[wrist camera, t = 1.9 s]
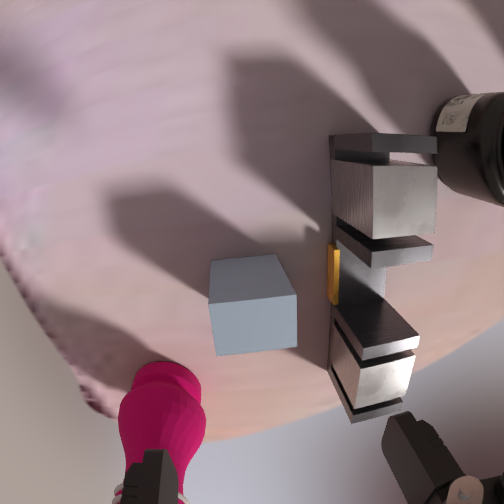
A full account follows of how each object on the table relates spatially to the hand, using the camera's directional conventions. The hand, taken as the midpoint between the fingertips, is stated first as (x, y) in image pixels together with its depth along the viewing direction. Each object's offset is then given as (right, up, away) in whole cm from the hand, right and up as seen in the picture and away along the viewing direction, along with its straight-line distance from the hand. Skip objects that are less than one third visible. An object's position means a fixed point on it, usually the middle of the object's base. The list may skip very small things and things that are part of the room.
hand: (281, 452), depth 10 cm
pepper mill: (-9, -5, +18) cm, 20 cm away
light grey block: (-2, +5, +15) cm, 16 cm away
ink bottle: (+18, +17, +13) cm, 27 cm away
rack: (+7, +6, +16) cm, 18 cm away
